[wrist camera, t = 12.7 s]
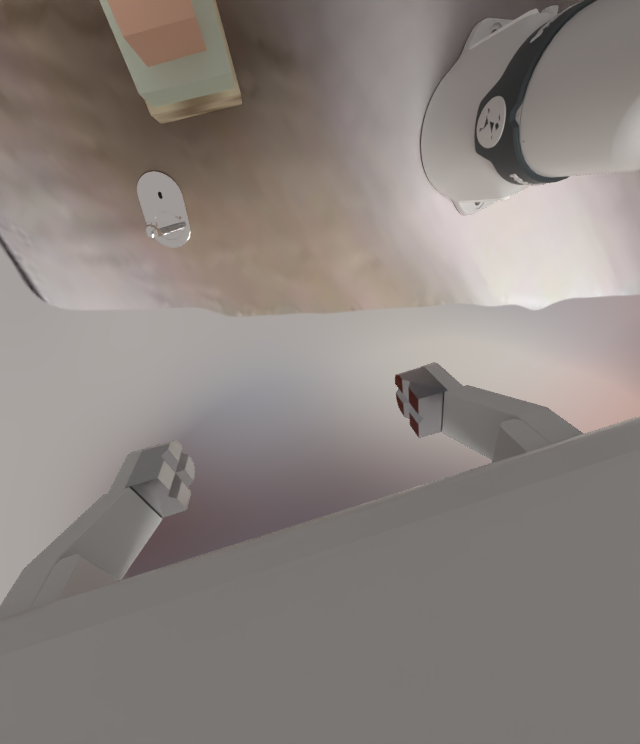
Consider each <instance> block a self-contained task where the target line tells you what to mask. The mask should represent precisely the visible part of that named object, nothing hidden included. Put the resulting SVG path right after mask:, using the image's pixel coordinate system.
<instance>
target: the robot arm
mask: <svg viewBox="0 0 640 744" xmlns="http://www.w3.org/2000/svg"><path fill="white" fill-rule="evenodd" d="M558 8H559V6H558V5H553V6H549V7H547V8H545V9H543V10H542V12H541V13H539V12H538V9H533V10H530V11H528V12H526V13H525V14H523V15H521V16H520V17H518V18H516V19H515V20H510V19H499V18H486V19H484V20H482V21H480V22H479V23H477V24H476V25H475V27H474V28H473V30H472V32H471V33H470V35H469V38H468V40H467V42H466V44H465V46H464V49H463V51H462V54H461V56H460V57H459V59H458V61H457V62H456V63H455V65H454V66H453V67H452V68H451V69H450V70H449V72H448V73H447V74H446V75H445V77H444V78H443V79H442V81H441V82H440V84H439V85H438V87H437V89H436V91H435V93H434V94H433V97H432V99H431V101H430V104H429V106H428V109H427V112H426V115H425V119H424V123H423V129H422V137H421V154H422V162H423V166H424V170H425V173H426V175H427V177H428V179H429V181H430V183H431V184H432V186H433V187H434V188H435V189H436V190H437V191H438V192H439V193H441V194H442V195H444V196H446V197H448V198H449V199H451V200H452V201H453V203H454V205H455V206H456V208H457V210H458V211H459V213H460V214H461V215H471V214H473V213H475V212H477V211H479V210H481V209H483V208H485V207H487V206H489V205H491V204H493V203H495V202H497V201H503V200H507V199H509V198H510V196H511V195H513V194H515V193H518V192H519V191H521V190H523V189H525V188H527V187H528V186H530V185H531V186H533V185H544V184H546V183H551V182H557V181H560V180H563V179H566V178H568V177H570V176H579V175H593V174H606V173H619V172H632V171H638V170H640V0H583V1H581V2H579V3H578V2H577V3H575V4H573V5H572V6H570V7H568V8H566V9H564V10H563V11H561V12H560V13H558ZM557 13H558V14H557ZM491 33H492V34H491ZM475 202H477V204H476V205H475ZM395 384H396V385H397V387H398V388H399V389H398V391H397V392H396V399H397V403H398V406H399V409H400V411H401V412H402V414H403V415H404V417H406V418H409V419H410V426H411V427H412V429H413V430H414V432H415V433H416V434H417V436H418V437H419V438H421V437H424V436H428V435H432V434H435V433H439V432H442V433H443V434H445V435H447V436H449V437H451V438H453V439H454V440H456V441H458V442H460V443H462V444H464V445H466V446H467V447H469V448H471V449H473V450H475V451H477V452H478V453H480V454H482V455H484V456H486V457H488V458H490V459H491V460H492V463H491V464H488V465H484V466H481V467H478V468H475V469H471V470H468V471H465V472H462V473H459V474H456V475H453V476H449V477H446V478H443V479H440V480H437V481H434V482H430V483H427V484H424V485H421V486H418V487H415V488H412V489H408V490H405V491H402V492H399V493H396V494H393V495H389V496H386V497H383V498H380V499H377V500H374V501H371V502H367V503H364V504H361V505H358V506H355V507H352V508H349V509H345V510H342V511H339V512H336V513H333V514H330V515H327V516H323V517H321V518H317V519H314V520H311V521H308V522H305V523H301V524H298V525H295V526H292V527H289V528H286V529H282V530H279V531H276V532H273V533H270V534H267V535H263V536H260V537H257V538H254V539H251V540H248V541H244V542H241V543H238V544H235V545H232V546H229V547H225V548H222V549H219V550H216V551H213V552H210V553H206V554H203V555H200V556H197V557H194V558H191V559H188V560H185V561H181V562H178V563H175V564H172V565H169V566H165V567H163V568H159V569H156V570H153V571H150V572H147V573H144V574H140V575H137V576H134V577H131V578H128V579H124V580H121V579H122V578H123V576H124V575H125V573H126V572H127V570H128V569H129V567H130V566H131V564H132V563H133V561H134V560H135V559H136V557H137V556H138V554H139V553H140V551H141V550H142V548H143V547H144V545H145V544H146V543H147V541H148V540H149V538H150V537H151V535H152V534H153V532H154V531H155V529H156V528H157V527H158V525H159V524H160V522H161V521H162V518H164V517H167V516H169V515H172V514H175V513H178V512H181V511H184V510H187V506H188V503H189V498H190V494H191V491H190V490H189V488H188V487H189V486H190V484H191V483H192V482H193V480H194V476H195V469H194V464H193V461H192V459H191V458H190V456H189V455H187V454H184V453H182V446H181V445H180V443H179V442H178V441H174V440H173V441H169V442H166V443H163V444H158V445H155V446H151V447H148V448H145V449H141V450H138V451H134V452H131V453H130V454H129V455H128V456H127V458H126V459H125V462H124V463H123V465H122V467H121V469H120V471H119V473H118V475H117V477H116V479H115V481H114V483H113V485H112V487H111V489H110V491H109V493H108V494H105V495H103V496H102V497H101V498H99V499H98V500H97V501H96V502H95V503H94V504H93V505H92V506H91V507H90V508H89V509H88V510H87V511H85V513H83V514H82V515H81V516H80V517H79V518H78V519H77V520H76V521H75V522H74V523H73V524H72V525H70V526H69V527H68V528H67V529H66V530H65V531H64V532H63V533H62V534H61V535H60V536H59V537H58V538H56V539H55V540H54V541H53V542H52V543H51V544H50V545H49V546H48V547H47V548H46V549H45V550H44V551H42V552H41V553H40V554H39V555H38V556H37V557H36V558H35V559H34V560H33V561H32V562H31V563H30V564H28V565H27V566H26V567H25V568H24V569H23V571H22V572H21V574H20V576H19V577H18V579H17V580H16V582H15V584H14V585H13V587H12V588H11V590H10V591H9V593H8V594H7V596H6V598H5V599H4V601H3V603H2V604H1V606H0V744H640V416H639V417H635V418H632V419H629V420H626V421H623V422H620V423H617V424H613V425H610V426H607V427H604V428H601V429H598V430H595V431H592V432H589V433H585V434H583V433H582V432H581V431H579V430H578V429H576V428H575V427H574V426H572V425H571V424H569V423H568V422H567V421H565V420H564V419H563V418H561V417H560V416H558V415H557V414H555V413H554V412H553V411H551V410H550V409H549V408H547V407H544V406H540V405H537V404H533V403H530V402H526V401H522V400H519V399H515V398H512V397H508V396H505V395H501V394H498V393H494V392H490V391H487V390H483V389H480V388H476V387H472V386H468V385H466V386H463V385H461V384H460V383H459V382H458V381H457V380H456V379H455V378H454V377H452V376H451V375H450V374H449V373H448V372H447V371H446V370H445V369H443V368H442V367H441V366H440V365H439V364H438V363H435V362H434V363H431V364H428V365H425V366H422V367H420V368H416V369H413V370H410V371H406V372H403V373H400V374H396V375H395ZM120 580H121V581H120Z"/></svg>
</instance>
